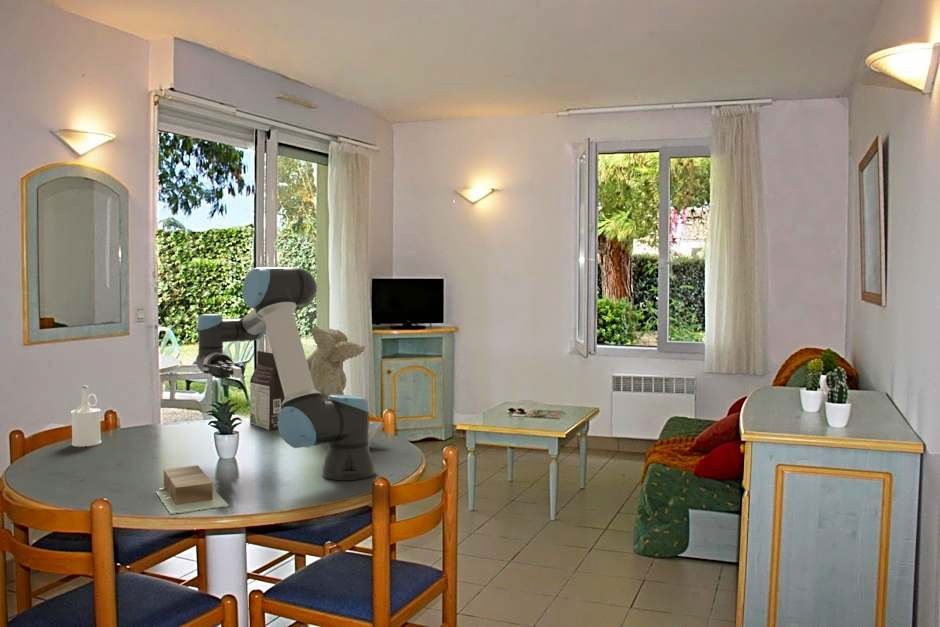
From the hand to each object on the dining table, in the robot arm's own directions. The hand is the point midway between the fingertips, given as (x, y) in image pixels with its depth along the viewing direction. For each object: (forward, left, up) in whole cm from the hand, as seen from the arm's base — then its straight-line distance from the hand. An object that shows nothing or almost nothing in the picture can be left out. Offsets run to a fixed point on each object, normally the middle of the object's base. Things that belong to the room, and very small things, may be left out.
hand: (238, 373), depth 239 cm
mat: (-10, +25, -30) cm, 40 cm away
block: (+2, +19, -26) cm, 32 cm away
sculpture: (+19, -58, -30) cm, 68 cm away
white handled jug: (+74, +5, -30) cm, 80 cm away
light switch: (-5, -47, -30) cm, 56 cm away
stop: (-1, +20, -30) cm, 36 cm away
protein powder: (+49, -53, -30) cm, 79 cm away
